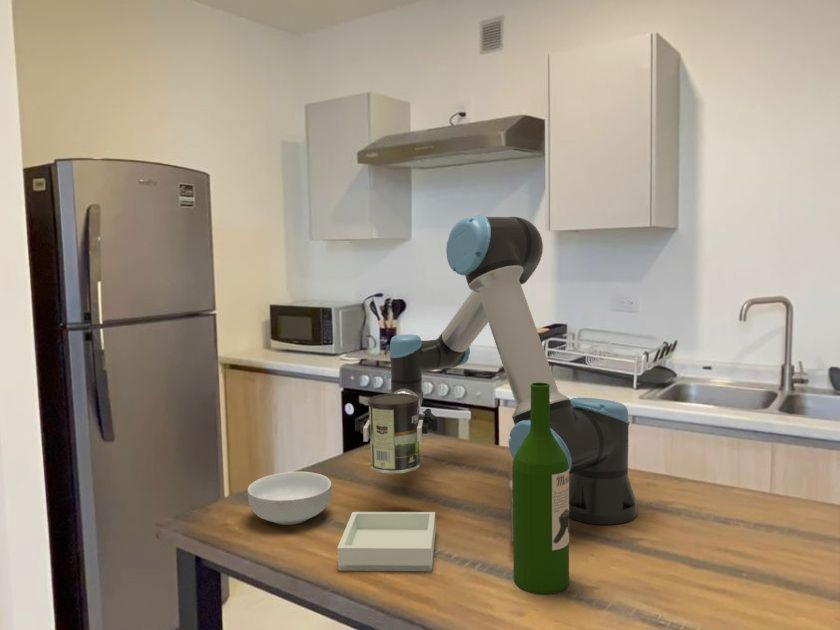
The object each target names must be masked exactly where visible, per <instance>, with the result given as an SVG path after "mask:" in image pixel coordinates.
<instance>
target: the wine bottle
mask: <svg viewBox="0 0 840 630" xmlns="http://www.w3.org/2000/svg"><path fill="white" fill-rule="evenodd" d="M530 386H531V424H530V431H529V434H528V435H527V437H526V438H525V440H524V441H523V443H522V445H521V446H520V448H519V449H518V451H517V452H516V454H515V457H514V460H513V463H512V544H513V545H512V548H513V550H512V551H513V552H512V554H513V555H512V556H513V559H512V560H513V561H512V562H513V567H512V568H513V580H514V583H515V584H516V586H518V587H519V588H520V589H521V590H523V591H526V592H529V593H533V594H537V595H553V594H558V593H560V592H563V591H564V590H565V589H567V587H568V585H569V583H570V517H569V465H568V461H567V457H566V455H565V453H564V452H563V450H562V449H561V447H560V446H559V444H558V442H557V441H556V439H555V438H554V436H553V435H552V432H551V430H550V392H549V387H550V385H549V384H547V383H532V384H531V385H530Z"/></svg>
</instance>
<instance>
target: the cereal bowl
mask: <svg viewBox="0 0 840 630" xmlns="http://www.w3.org/2000/svg"><path fill="white" fill-rule="evenodd" d="M246 493H247V500H248V504H249V507H250V510H251V511H252V512H253V513H254V514H255V515H256V516H257V517H259V519H262V520H265V521H268V522H271V523H275V524H277V525H282V526H283V525H284V526H291V525H298V524H302V523H304V522H307V521H308V520H309V519H312V518H314V517H315V516H317V515H319V514H320V513H322V512H323V511H324V510H325V509H326V508H327V506H328V505H329V503H330V501H331V500H330V499H331V496H332V481H331V479H329V477H327V476H325V475H324V474H320V473H316V472H311V471H288V472H287V471H285V472H279V473H274V474H269V475H266V476H263V477H261V478H258V479H256V480H255V481H252V482H251V483H250V484H249V485H248V487H247V491H246Z"/></svg>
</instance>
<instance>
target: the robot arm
mask: <svg viewBox="0 0 840 630" xmlns="http://www.w3.org/2000/svg"><path fill="white" fill-rule="evenodd" d="M448 235H449V236H448V239H447V242H446V248H445V249H446V252H445V253H446V259H447V262H448V265H449V267H450V269H451V270H452V271H453V272H455V273H456V274H458V275H460V276H464V277H465V279H466V280H465V281H466V282H467V286H468V288H469V290H471V292H470V294H469V295H468V297H467V298H466V299H465V300H464V301H463V303H462V305H461V306H460V307H459V309H458V311H456V313H455V315H454V316H453V317H452V318H451V320H450V321H449V322H448V323H447V325H446V327H445V328H444V329H443V331H442V332H441V334H439V336H438V337H437V338H435V339H429V340H422V338H421V336H420V335H418V334H397V335H394V336H392V337H391V339H390V345H389V357H390V377H391V378H390V394H410V395H414V396H417V397H418V398H419V402H418V415H419V423H418V426H417V442H419V443H421V442H422V439H423V435H425V434H426V435H427V434H429V432H430V430H431V431H432V432H438V430H439V428H438V427H439V426H438V425H439V423H438V417H436V416H435V415H434V414H433V413H432V409H431V408H425V409H424V410H422V412H421V411H420V409H421V406H422V403H423V402H424V393H423V382H422V380H423V378H422V377H423V374H422V373H423V372H424V373H425V372H429V371H435V370H442V369H448V368H449V369H450V368H457V367H459V366H463V365H465V364H466V363H467V362H468V360H469V358H470V354H471V349H470V348H471V347H470V346H471V345H472V344H473V343H474V341H475V340H476V338H478V336H479V335H480V334H481V332H483V329H484V328H485V327H486V326H487V325H489V328H490V331H491V334H492V337H493V341H494V343H495V346H496V348H497V349H496V350H497V352H498V356H499V358H500V360H501V364H502V366H503V370H504V373H505V376H506V378H507V382H508V385H509V388H510V390H511V393H512V397H513V399H514V402H515V410H514V411H513V413H512V415H511V417H512V421H513V424H514V426H513V427H512V428H511V430H510V433H509V437H510V438H509V439H508V448H509V453H510V456H511V458H512V460H513V461H514V457H515V454H516V452H517V451H518V449H519V448H520V446H521V445H522V443H523V441H524V440H525V438H526V437H527V435H528V434H529V431H530V424H531V386H530V385H531V384H532V383H547V384H549V385H550V387H549V392H550V430H551V432H552V435H553V436H554V438H555V439H556V441H557V442H558V444H559V446H560V447H561V449H562V450H563V452H564V453H565V455H566V457H567V461H568V465H569V519H572V520H574V521H579V522H582V523H585V524H586V523H587V524H593V525H601V526H602V525H618V524H619V525H620V524H624V523H628V522H630V521H632V520H634V519H635V518H636V516H637V515H638V505H637V499H636V497H635V493H634V490H633V487H632V484H631V481H630V478H629V425H630V421H629V411H628V408H627V406H626V405H624V404H623V403H621V402H619V401H614V400H610V399H609V400H608V399H602V398H595V397H594V398H593V397H572V398H570V397H568V396H566V395H564V394H562V393H561V392H560V391H559V389H558V385H557V383H556V380H555V377H554V375H553V372H552V368H551V367H550V364H549V361H548V357H547V355H546V352H545V349H544V346H543V343H542V340H541V338H540V335H539V332H538V330H537V327H536V324H535V322H534V321H535V320H534V318H533V315H532V312H531V309H530V307H529V304H528V300H527V297H526V295H525V293H524V290H523V286H522V285H524V284H526V283H527V282H528V280H529V279H530V278H531V277H532V275H533V274H534V273H535V271H536V269H537V268H538V266H539V264H540V262H541V259H542V256H543V251H544V244H543V238H542V236H541V233H540V231H539V230H538V228H537V227H536V226H535V225H534V224H533V223H532V222H530V221H529V220H528V219H525V218H523V217H519V216H485V215H476V216H468V217H464V218H462V219H460V220H458V221H457V222H456V224H455V225H453V227H452V228H451V230H450V232H449V234H448ZM354 426H355V429H354V431H355V432H360V434H363V435H362V436H363V437H362V438H363V442H368V441H369V440H370V422H369V411H367V412H365V413H364V414H362V415H359V416H358V417H356V418H355V419H354Z"/></svg>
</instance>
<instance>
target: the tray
mask: <svg viewBox="0 0 840 630" xmlns="http://www.w3.org/2000/svg"><path fill="white" fill-rule="evenodd" d="M351 512H352V513H351V514H350V517H349V519H348V521H347V524H346V526H345V528H344V531H343V534H342V536H341V538H340V541H339V543H338V546H337V548H336V550H337V571H340V572H341V571H342V572H344V571H345V572H347V571H349V572H350V571H351V572H352V571H353V572H354V571H355V572H356V571H358V572H359V571H361V572H362V571H363V572H365V571H366V572H368V571H369V572H432V571H433V562H434V553H435V544H436V543H435V542H436V511H351Z"/></svg>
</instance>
